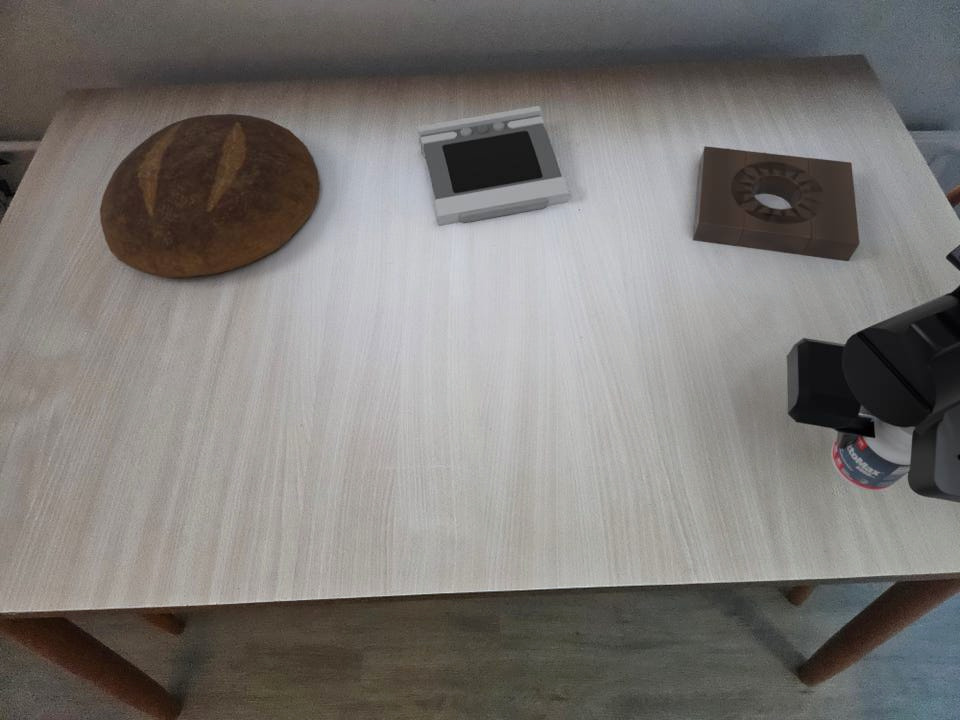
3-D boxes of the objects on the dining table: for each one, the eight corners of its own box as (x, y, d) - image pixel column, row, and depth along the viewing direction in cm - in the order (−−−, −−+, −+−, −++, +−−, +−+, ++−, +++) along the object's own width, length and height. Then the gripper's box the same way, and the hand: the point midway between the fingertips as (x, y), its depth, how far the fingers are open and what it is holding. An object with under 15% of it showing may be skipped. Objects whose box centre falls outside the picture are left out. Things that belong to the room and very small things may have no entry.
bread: (82, 295, 79) (37, 246, 72) (136, 148, 94) (104, 95, 86) (311, 280, 79) (290, 230, 71) (330, 135, 93) (314, 81, 86)
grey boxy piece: (538, 105, 89) (571, 176, 79) (538, 135, 93) (569, 206, 83) (417, 126, 88) (435, 201, 78) (422, 155, 92) (439, 230, 82)
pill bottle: (816, 447, 55) (862, 396, 48) (867, 426, 56) (921, 373, 48) (856, 502, 52) (913, 457, 45) (910, 479, 53) (974, 432, 46)
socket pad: (841, 180, 83) (851, 162, 81) (848, 261, 76) (859, 243, 74) (699, 164, 86) (704, 146, 84) (692, 240, 79) (698, 222, 77)
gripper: (840, 431, 36) (755, 520, 49) (1224, 498, 33) (1024, 574, 46) (830, 281, 42) (756, 397, 55) (1157, 326, 39) (996, 437, 52)
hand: (876, 449), depth 52 cm, fingers closed on pill bottle, 5 cm apart
